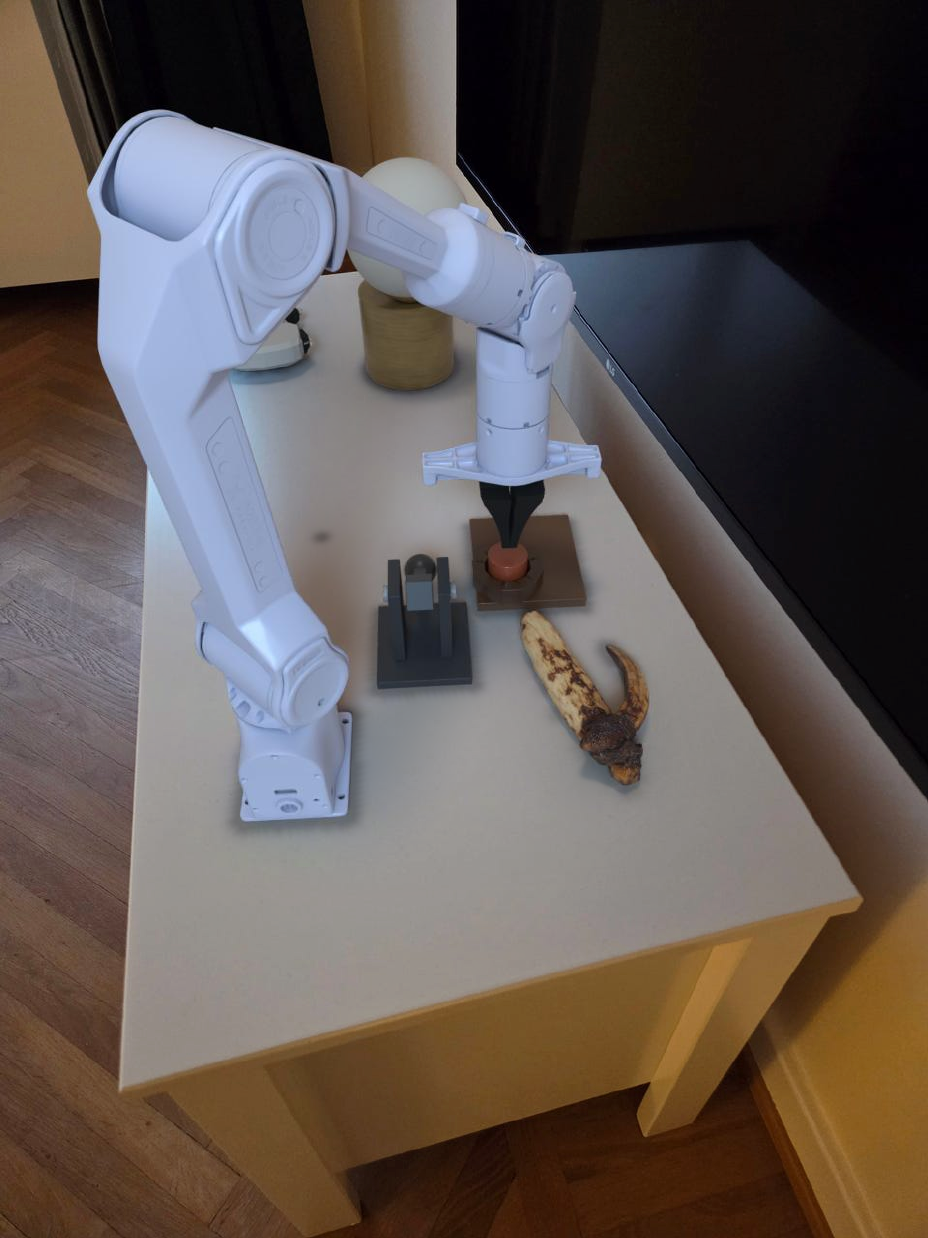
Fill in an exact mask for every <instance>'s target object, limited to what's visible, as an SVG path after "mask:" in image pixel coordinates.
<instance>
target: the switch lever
mask: <svg viewBox="0 0 928 1238" xmlns="http://www.w3.org/2000/svg"><path fill="white" fill-rule="evenodd" d="M403 573H404V577H405V582H404V587H405V588H404V589H405V605H406V606H407V611H418V610H433V609H434V604H435V601H434V600H435V598H434V584H433V583H434V581H435V579H436V578H437V563H436V561H435V560H434V559H433V558H432V557H431V556H429V555H427V554H424V553H416V554H414V555H412V556H410V557H409V558H408V559H407V560H406V561H405V564H404V568H403Z"/></svg>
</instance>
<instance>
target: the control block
mask: <svg viewBox="0 0 928 1238" xmlns="http://www.w3.org/2000/svg"><path fill="white" fill-rule="evenodd" d="M468 522H469V525H468V526H469V536H470V537H469V538H470V549H471V558H472V559H471V581H472V587H473V589H474V591H475V603H476V612H494V611H495V612H496V611H511V610H512V611H514V610H515V611H516V610H517V611H518V610H534V609H538V610H539V609H556V608H576V607H586V604H587V596H586V595H587V594H586V591H585V586H584V581H583V577H582V573H581V568H580V563H579V559H578V553H577V549H576V545H575V540H574V536H573V531H572V527H571V522H570V517H569V515H568V514H554V515H553V514H552V515H531V516H530V517H529V519H528V521H527V523H526V524H525V527H524V529H523V531H522V533H521V536H520V539H519V542H518V543H519V544H521V545H522V546H523V547H524V548H525V549H526V550H527V553H528V561H527V571H526V573H525V575H524V576H523V577H522V578H520V579H518V580H515V581H501V580H498V579H496V578H494V577H493V576H492V575H491V574H490V573H489V571H488V552H489V550H490V548H491V547H492V546H493V545H495V544H497V543H499V542H501V539H500V534H499V531H498V528H497V526H496V523H495V521H494V519H493V517H487V518H486V517H485V518H469V521H468Z"/></svg>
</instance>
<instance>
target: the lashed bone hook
mask: <svg viewBox="0 0 928 1238" xmlns="http://www.w3.org/2000/svg"><path fill="white" fill-rule="evenodd" d="M520 628H521V630H522V631H521V634H520V639H521V642H522V644H523V648H524V650H525V651H526V653H527V655H528V657H529V659H530V660H531V663H532V668H533V670H534V672H535V673H536V675H537V676H538V678H539V679H540V681H541V682H542V684H543V685H544V687H545V690H546V692H547V694H548V696H549V698H550V700H551V702H552V703H553V705H554V706H555V707H556V708H557V709H558V711H559V712H558V713H559V714H560V716H561V717H562V718H563V720H565V721H566V724H567V726H568V727H569V728H570V729H571V730H572V732H573V733H574V734H575V735H576V737H577V738H578V739H579V748H580V749H581V751H586V752H588V754H589V756H590V757H591V758H592V759H593V760H594V761H595V762H596V763H597V764H598V765H600V766H607V767H608V769H609V772H610V778H612V779H613V780H615V781H616V782H618V783H619V784H620V785H622V786H631V785H633V784H635V783H637V782H638V781H640V780H641V768H642V759H641V758H642V757H643V751H644V748H643V743H641V742H640V743H636V742H635V740H634V738H636V737H637V735H638V734H637V732H638V731H639V730H640V728H641V726H642V725H643V723H644V721H645V719H646V717H647V714H648V711H649V709H650V692H649V687H648V683H647V680H646V678H645V675H644V673H643V671H642V670H641V668H640V666H638V664H637V663H635V661H634V660H633V659H632V658H631V657H630V656H628V655H627V654H626V653H624V652H623V651H621V650H619V649H617V648H616V647H614V646H611V645H605V649H606V652H607V653H608V655H609V656H610V658H611V659H612V660H613V661H614V663H615V664H616V665H617V667H619V669H620V671H621V673H622V675H623V680H624V685H625V698H624V701H623V702H622V703H621V705H620V706H619V708H618V709H617V711H615V713H613V712H612V709H611V708H610V707H609V706H608V705H607V703H606V701H605V700H604V697H603V696H602V694H601V693H600V692H599V690H598V689H597V687H596V685H595V684H594V683H593V681H592V680H591V678H590V677H589V675H588V674H587V673H586V671H585V670H584V669H583V667H582V666H581V664H580V663H579V661H578V660H577V659H576V658H575V657H574V655H573V654H572V653H571V651H570V649H569V648H568V646H567V644H566V643H565V641H564V640H563V637H562V636H561V635H560V634H559V632H558V631H557V630H556V629H555V628H554V626H552V624H551V622H550V621H549V620H548V619H546V618H545V617H544V616H543V613H541V612H540V611H537V610H530V611H527V612H524V613H523V614H522V616H521V618H520Z"/></svg>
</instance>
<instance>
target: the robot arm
mask: <svg viewBox="0 0 928 1238" xmlns="http://www.w3.org/2000/svg"><path fill="white" fill-rule="evenodd" d="M86 195H87V199H88V202H89V204H90V208H91V210H92V213H93V216H94V219H95V222H96V224H97V228H98V230H99V234H100V260H99V284H98V285H99V286H98V287H99V288H98V311H97V312H98V313H97V314H98V317H97V350H98V354H99V357H100V362H101V365H102V367H103V370H104V372H105V374H106V377H107V379H108V381H109V383H110V386H111V388H112V390H113V393H114V394H115V397H116V400H117V401H118V404H119V406H120V408H121V411H122V413H123V416H124V418H125V420H126V422H127V424H128V426H129V428H130V431H131V434H132V436H133V438H134V440H135V443H136V445H137V447H138V450H139V452H140V454H141V456H142V459H143V461H144V463H145V465H146V467H147V470H148V472H149V474H150V477H151V479H152V481H153V484H154V486H155V488H156V490H157V492H158V495H159V497H160V499H161V501H162V503H163V506H164V509H165V510H166V512H167V515H168V518H169V519H170V522H171V524H172V527H173V529H174V531H175V533H176V535H177V537H178V540H179V542H180V545H181V547H182V549H183V551H184V554H185V556H186V558H187V560H188V562H189V565H190V567H191V570H192V572H193V574H194V576H195V579H196V581H197V582H198V585H199V588H200V591H199V592H198V593H197V594H196V595H195V597H194V598H192V600H191V602H190V606H191V609H192V611H193V613H194V617H195V623H196V624H195V632H194V646H195V650H196V652H197V654H198V656H199V657H200V658H201V659H202V660H203V661H204V662H206V663H207V664H208V665H211V666H213V667H215V668H216V669H217V670H218V671H220V672H221V673H222V676H223V679H224V680H225V682H226V691H227V696H228V700H229V703H230V705H231V708H232V711H233V714H234V716H235V720H236V724H237V726H238V730H239V731H238V732H239V735H240V749H239V750H240V752H239V757H238V765H237V777H238V781H239V783H240V786H241V789H242V798H241V803H240V812H239V817H240V819H241V821H243V822H246V823H247V822H264V821H265V822H266V821H281V820H283V821H284V820H285V821H286V820H300V819H302V820H303V819H319V818H321V819H322V818H335V817H336V818H337V817H344V816H346V815H347V814H348V812H349V802H350V801H349V800H350V781H351V780H350V779H351V778H350V777H351V759H352V737H353V732H352V731H353V715H352V713H351V712H350V711H339V710H338V705H337V703H338V702H339V701H340V699H341V697H342V695H343V694H344V692H345V690H346V687H347V684H348V680H349V675H350V665H351V664H350V658H349V655H348V654H347V652H346V651H345V650H344V649H343V648H342V647H340V646H338V645H337V644H335V643H333V642H332V641H333V640H331V637H330V634H329V631H328V628H327V627H326V625H325V624H324V623H323V622H322V620H321V619H320V618H319V616H318V615H317V614H316V613H315V611H313V609H312V608H311V606H309V604H308V603H307V602H306V601H305V599H304V598H303V597H302V595H301V594H300V593H299V592H298V590H297V589H296V586H295V583H294V580H293V576H292V573H291V570H290V567H289V564H288V560H287V558H286V555H285V551H284V548H283V545H282V542H281V539H280V538H281V537H280V535H279V532H278V529H277V526H276V523H275V519H274V516H273V513H272V510H271V507H270V503H269V500H268V497H267V494H266V492H265V488H264V484H263V481H262V478H261V475H260V472H259V468H258V465H257V462H256V459H255V456H254V454H253V453H254V452H253V449H252V446H251V443H250V440H249V436H248V433H247V430H246V427H245V424H244V421H243V418H242V414H241V412H240V411H241V410H240V408H239V404H238V401H237V398H236V396H235V395H236V394H235V392H234V389H233V386H232V382H231V379H230V373H231V370H233V369H232V368H234V367H238V366H241V365H244V364H246V363H247V362H248V361H249V359H250V358H251V357H252V356H253V355H254V354H255V353H256V352H257V350H258V349H259V348H260V347H261V346H262V345H263V344H264V342H265V341H266V340H267V339H268V338H269V337H270V336H271V334H272V333H273V332H274V331H275V330H276V329H277V328H278V326H279V325H280V324H281V323H282V322H283V321H284V320H285V319H286V317H287V316H288V315H289V314H290V313H291V312H292V311H293V309H294V308H297V306H298V305H299V304H300V303H301V302H302V301H303V299H304V298H305V297H306V296H307V295H308V294H309V292H310V291H311V290H312V288H313V287H314V286H315V284H316V283H317V282H318V280H319V279H320V278H321V276H322V275H323V272H324V270H326V271H328V272H331V273H335V272H338V271H339V270H340V269H341V268H342V265H343V263H344V260H345V259H344V258H345V255H346V251H347V249H349V250H351V251H354V252H356V253H359V254H361V255H364V256H367V257H369V258H372V259H374V260H377V261H379V262H382V263H385V264H387V265H390V266H392V267H395V268H397V269H400V270H402V275H403V280H404V283H405V285H406V288H407V289H408V291H409V293H410V294H411V295H412V297H413V298H414V299H416V300H417V301H418V302H419V303H421V304H423V305H426V306H428V307H431V308H433V309H436V310H438V311H441V312H444V313H446V314H449V315H451V316H453V318H456V319H458V320H461V321H463V322H464V323H466V324H468V323H469V324H472V325H474V326H477V327H476V328H475V389H476V390H475V435H476V436H475V441H473V442H469V443H465V444H461V445H458V446H454V447H450V448H446V449H442V450H441V449H440V450H437V451H429V452H428V451H427V452H422V453H421V463H422V480H423V481H422V483H423V486H425V487H426V486H435V485H437V484H438V481H449V480H450V481H451V480H468V481H469V480H470V481H476V482H478V485H479V487H478V488H479V493H480V498H481V501H482V504H483V506H484V507H485V508H486V509H487V511H488V513H489V515H490V516H491V518H493V519H494V521H495V523H496V526H497V528H498V531H499V534H500V539H501V547H502V548H503V549H504V548H517V546H518V542H519V539H520V536H521V533H522V531H523V529H524V527H525V524H526V523H527V521H528V519H529V517H530V516H533V513H534V512H535V511H536V509H537V508H538V507H539V506H540V505H541V504H542V503H543V501H544V499H545V495H546V486H545V480H546V479H550V478H553V477H557V476H562V475H584V474H585V477H586V478H587V479H599V478H600V476H601V467H602V460H603V458H602V454H601V451H600V448H599V445H598V444H579V443H578V444H577V443H571V442H566V441H559V440H552V439H549V430H550V429H549V428H550V427H549V426H550V413H551V412H550V411H551V401H552V400H551V399H552V386H553V385H552V384H553V370H554V363H555V362H556V361H558V359H559V357H560V353H561V352H562V351H563V340H564V339H563V338H564V334H565V331H566V328H567V326H568V324H569V322H570V319H571V317H572V314H573V311H574V308H575V304H576V300H577V291H575V290H574V286H573V282H572V279H571V277H570V276H569V275H568V274H567V271H566V268H565V267H564V266H563V264H561V263H560V262H559V261H556V260H553V259H550V258H547V257H545V256H541V255H538V254H536V253H533V252H530V251H528V250H527V249H526V248H525V245H526V240H525V238H523V237H521V236H520V235H518V234H516V233H513V232H510V231H504V232H503V233H502V234H501V233H499V232H498V231H496V230H494V229H493V228H492V227H489V226H488V225H487V223H488V220H489V214H488V213H487V212H485V211H483V210H482V209H481V208H479V207H475V206H473V205H470V204H468V205H467V204H464V203H461V204H460V205H459V208H458V209H455V208H449V207H447V208H439V209H436V210H433V211H431V212H429V213H428V214H426V215H425V216H423V215H421V214H419V213H418V212H416V211H415V210H413V209H411V208H410V207H408V206H407V205H405V204H403V203H402V202H400V201H398V200H397V199H395V198H394V197H392V196H390V195H389V194H387V193H386V192H384V191H382V190H381V189H379V188H377V187H376V186H374V185H373V184H371V183H369V182H368V181H366V180H364V179H363V178H362V177H361V176H360V175H358V174H357V173H355V172H353V171H352V170H350V169H348V168H347V167H344V166H341V165H338V164H335V163H332V162H329V161H327V160H323V159H320V158H318V157H314V156H312V155H309V154H306V153H302V152H300V151H297V150H294V149H290V148H287V147H284V146H281V145H277V144H274V143H270V142H268V141H267V142H266V141H264V140H260V139H256V138H254V137H250V136H247V135H243V134H240V133H237V132H233V131H229V130H226V129H222V128H219V127H213V128H211V127H208V126H204V125H202V124H199V123H197V122H195V121H194V120H192V119H190V118H189V117H187V116H186V115H184V114H182V113H179V112H175V111H171V110H168V109H167V110H166V109H152V110H151V109H150V110H147V111H144V112H141V113H138V114H136V115H135V116H133V117H131V118H130V119H129V120H127V121H126V122H125V123H124V124H123V125H122V126H121V127H120V128H119V130H118V131H117V132H116V133H115V135H114V137H113V138H112V140H111V142H110V143H109V145H108V148H107V150H106V152H105V153H104V155H103V158H102V160H101V162H100V163H99V165H98V168H97V170H96V172H95V174H94V176H93V177H92V180H91V182H90V183H89V186H88V187H87V190H86ZM341 797H343V798H342V799H340V798H341Z"/></svg>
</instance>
